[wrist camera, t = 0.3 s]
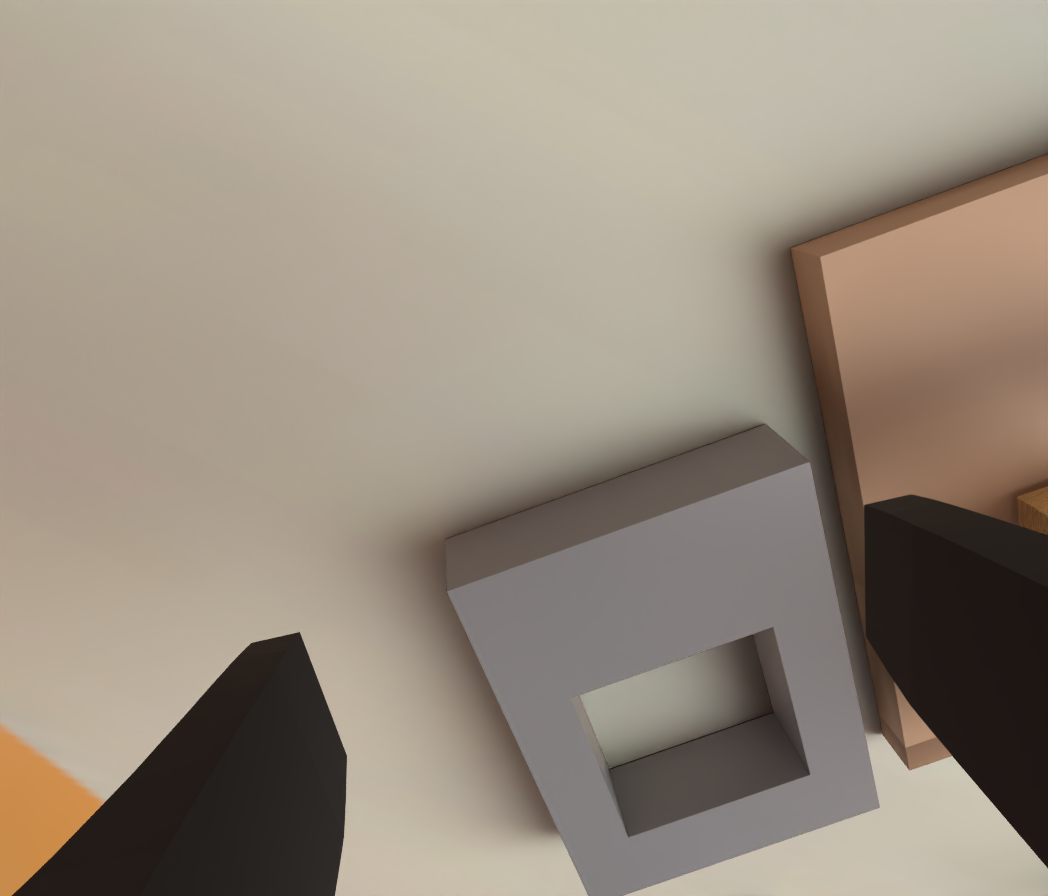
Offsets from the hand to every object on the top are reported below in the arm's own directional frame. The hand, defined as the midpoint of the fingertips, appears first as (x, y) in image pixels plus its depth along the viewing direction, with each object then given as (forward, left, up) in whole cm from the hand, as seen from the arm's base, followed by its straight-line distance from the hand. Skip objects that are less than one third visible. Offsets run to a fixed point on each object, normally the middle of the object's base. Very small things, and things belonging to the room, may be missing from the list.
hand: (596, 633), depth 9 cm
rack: (-9, -1, -10) cm, 14 cm away
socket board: (-7, -12, -10) cm, 17 cm away
